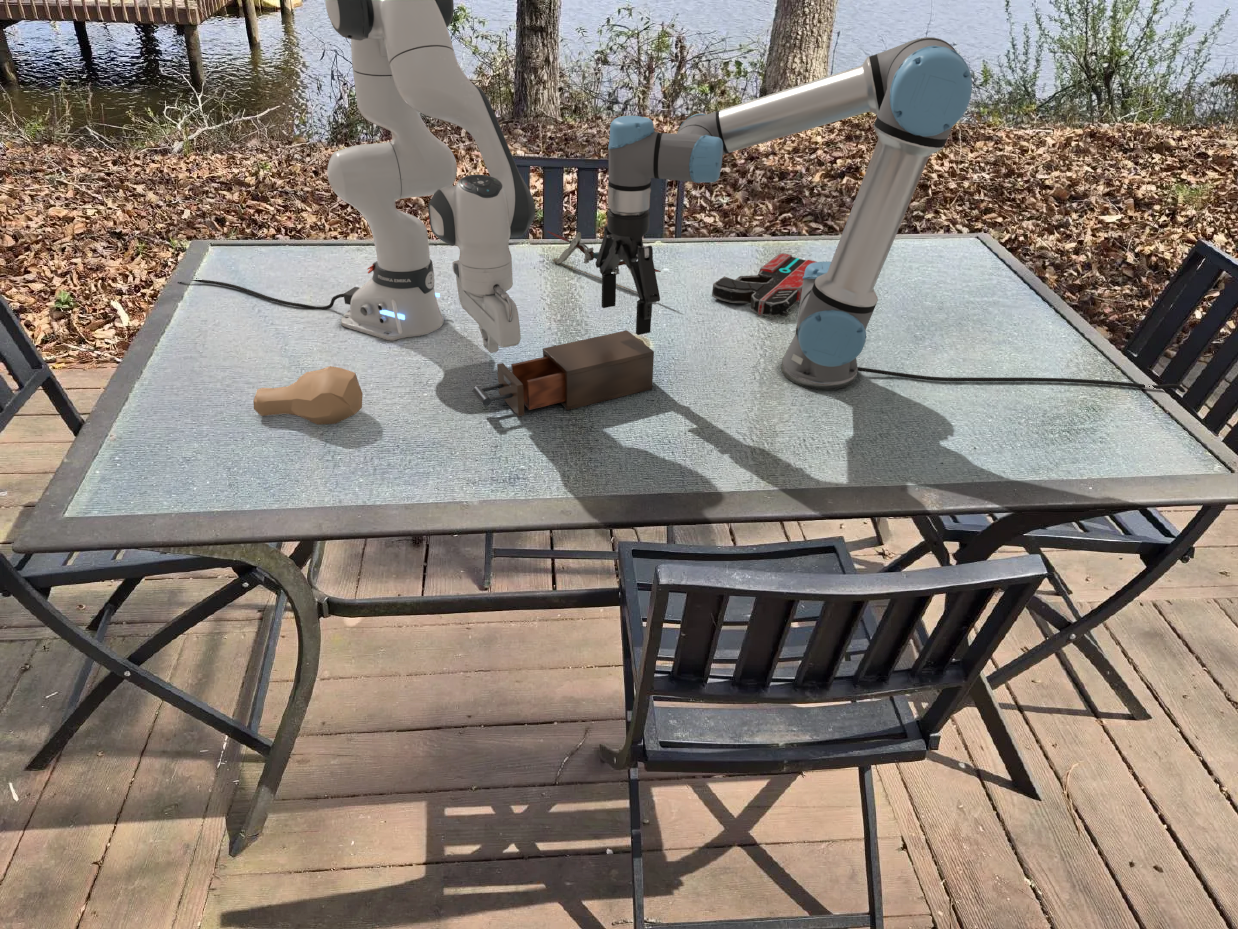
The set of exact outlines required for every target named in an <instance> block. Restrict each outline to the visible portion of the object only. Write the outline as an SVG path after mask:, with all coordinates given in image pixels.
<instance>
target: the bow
mask: <svg viewBox="0 0 1238 929" xmlns="http://www.w3.org/2000/svg"><path fill="white" fill-rule="evenodd" d="M546 232H547V233H548V234H550V235H551V236H553V237H554V238H555V237H556V238H558V239H559V240H562V241H565V242H568V243H569V246H568V247H567V248H565V249H564V251H562V253H561V254H560V256H559V257H558V258H557V257H555V258H553V259H552V262H553V263H555V264H558V265H559V264H560V265H562V266H565V267H568V268H570V269H573V270H576V271H577V272H578V271H579V272H581V273H584V274H587V275H589V276H592V277H595V278H597V279H600V280H602V277H599V276H596V275H594V274H591V273H588V272H585V271H584V270H581V269H577V268H575V267H573V266H570V265H568V264H564V262H566V261H567V260H568V259H569V257H570V256H571V255H572V254H573V252H574V251H576V250H577V249H578V250H579V251H580V252H581V253H583V254H584V258H583V264H585V265H586V264H589V263H590V262H591V261H593V260H594V259H595V260H597V257H598V254H599V251H598V252H597V251H596V252H595V251H594V247H588V246H587V244H585V243H582V242H581V241H582V233H581V231H580V232H577V233H576V235H575V237H574V238H573V239H571V240H569V239H568V238H566V237H564V236H563V235H560V234H557V233H555V232H552V231H549V230H546ZM604 260H605V259H604ZM602 261H603V260H602ZM620 266H626V267H627V265H626V262H624V261H623V259H621V261H620V262H619V264H618V265H617V267H616V270H615V271H616V272H613V273H615V274H616V276H617V275H620V269H619V267H620ZM627 269H628V270H629V272H630V274H631V276H632V273H631V270H630V269H629V268H628V267H627ZM661 272H662V270H659V269H656V268H655V273H661ZM632 278H633V276H632ZM616 286H618V287H621V288H623V289H626V290H628V291H631V292H634V293H636V294H638V292H637V290H633V289H631V288H628V287H624V286H622V285H621V284H618V283H616Z"/></svg>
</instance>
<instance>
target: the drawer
mask: <svg viewBox="0 0 1238 929" xmlns="http://www.w3.org/2000/svg"><path fill="white" fill-rule="evenodd" d="M496 365H497V367H496V368H497V384H494V385H489V386H485V387H481V386H479V385H476V386H474V387H473V388H472V393H473V394H474V396H475V397H476V398H477V400H478V401H479V402H480V403H481V404H482V405H483V406H484V407H490V406H491V404H492V403H494V402H498V401H502V400H503V401H504V402H505V403H506V404H507V405H508V406H509V408H510V409H511V410H512V411H513V412H514V413H515V414H516V415H517V416H518V417H521V416H525V407H526V408H527V409H528V410H529V411H530V410H531V411H532V410H536V409H539V408H544V407H548V406H551V405H552V406H553V405H556V404H561V403H560V402H564V401H566V396H565V373H564V372H563V371H562V370H561V369H560V368H559V367H558V366H557V365H556V364H555V363H554V362H553V361H552V360H551V359H550V358H549V357H547V356H546V357H543V356H542V357H538V358H533V359H529V360H524V361H520V362H519V361H518V362H515V363H511V364H510V365H511V366H510V367H511V369H509V368H508V366H507V365H506V364H504V363H503V362H501V363H497V364H496ZM493 390H498V395H497V396H492V397H490V396H489V395H488V394H487V393H486V392H489V391H493Z"/></svg>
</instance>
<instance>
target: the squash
mask: <svg viewBox="0 0 1238 929" xmlns="http://www.w3.org/2000/svg"><path fill="white" fill-rule="evenodd" d="M255 392H256V393H255V394H254V398H253V400H252V401H253V410H254V411H255V412H256V413H257V414H259V416H261V417H263V416H264V417H265V416H273V415H292V416H298V417H299V418H302V419H304V420H306V421H308V422H311V423H313V424H315V425H317V426H319V425H337V424H339V423H340V422H342V421H345V420H346V419H349V418H350V417H352V416H354V415H356V414H357V413H358V412H359V411H360V410H361V409H362V408H363V391H362V388H361V386H360V383H359V380H358V377H357V373H356V372H354V371H352V370H348V369H345V368H343V367H337V366H332V365H329V366H326V367H323V368H320V369H317V370H312V371H311V370H310V371H306V372H305V373H303V374H302V375H300V376H298V379H297V380H296V381H295V382H293V383H291V384H289V385H288V386H280V387H273V388H272V387H260V388H257V389H256V391H255Z"/></svg>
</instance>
